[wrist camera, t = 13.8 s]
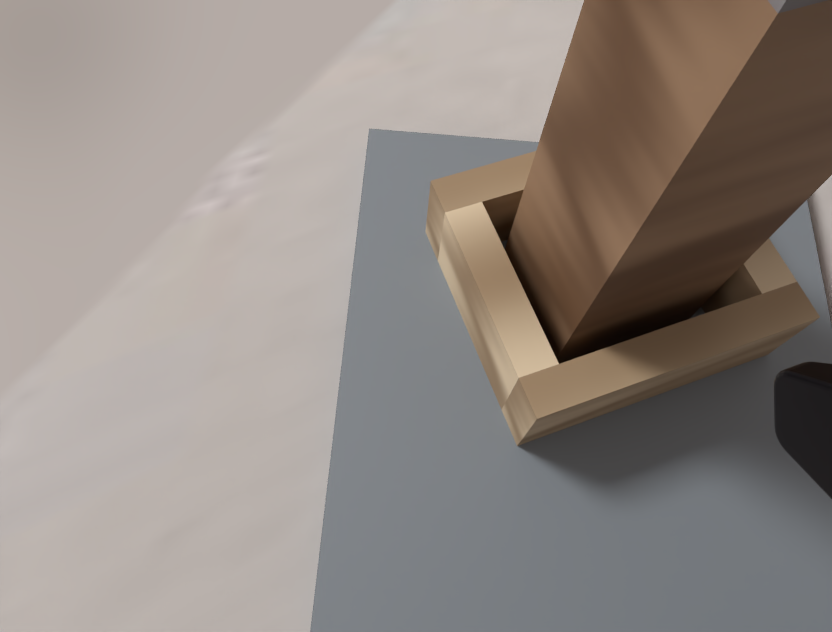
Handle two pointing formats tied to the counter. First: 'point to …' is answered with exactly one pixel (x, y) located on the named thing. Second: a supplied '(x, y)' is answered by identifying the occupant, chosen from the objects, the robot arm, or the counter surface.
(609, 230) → the post
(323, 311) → the counter surface
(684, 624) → the board
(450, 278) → the socket
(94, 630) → the counter surface
